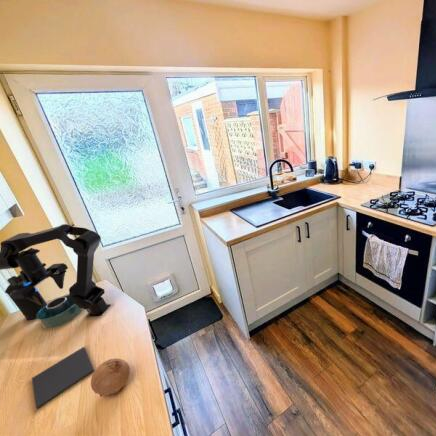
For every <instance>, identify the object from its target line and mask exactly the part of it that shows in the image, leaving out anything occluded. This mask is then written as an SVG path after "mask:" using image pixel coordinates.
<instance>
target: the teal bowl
mask: <svg viewBox="0 0 436 436" xmlns="http://www.w3.org/2000/svg"><path fill="white" fill-rule="evenodd" d="M62 297H66V298H67V300H68V301H69V303H70V304H71V306H72V307H70V308H69V309H67V310H66V311H64V312H62V313H60V314H58V315H55V316H53V317H52V316H51V314H50V313H49V311H48V310H47V309H46V305H45V306H44V307H43V308H41V309H40V310H39V312H38V313H37V315H36V317H37V319H36V320H37V321H38V323H40V325H41V326H42V328H44V329H54V328H58V327H61V326H63V325H65V324H68V323H69V322H71V321H73V320H74V319H76V318H77V317H78V316H79V315H80V314H82V312H83V311H84V309H83V308H79V307H78V306H77V305H76V304H75V303H73V302H72V300H71V299H70V296H69V294H66V295H63V296H62Z"/></svg>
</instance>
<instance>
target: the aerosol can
mask: <svg viewBox="0 0 436 436" xmlns="http://www.w3.org/2000/svg"><path fill="white" fill-rule="evenodd" d="M30 283H31V282H29V283H25V282H23V283H21V284H20V285H18V284H16V285H14V286H12V285H10V284H9V285H7V287H6V289H5V291H4V293H5V294H7V295H8V296H9V298H10V299H11V301H12V302H13V303H14V304H15V306H16V307H17V308H18V310H19V311H20V312H21V314H22V315H23V316H24V318H25V320H26V321H28V322H30V321H34V320H35V321H36V320H38V319H37V317H36V315H37V313H38V312H39V310H40V309H41V308H43V307H44V306H45V305H47V304H48V303H47V302H46V300H45V298H44V297H43V295H42V294H41V293H40V291H39V290H38V288H37V286H36V287H34V288H35V289H36V290H35V291H38V292H39V295H40V297H41V299H42V301H43V305H40V304H38V303H36V302H34V301H32V300H30V299H27V298H24V299H12V298H11V297H10V293H11V292H12V291H14V290H15V289H17V288H18V287H20V286H27V285H29V284H30Z"/></svg>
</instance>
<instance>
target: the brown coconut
mask: <svg viewBox="0 0 436 436" xmlns="http://www.w3.org/2000/svg"><path fill="white" fill-rule="evenodd" d="M130 374H131V367H130V364H129V363H128V362H127V361H126V360H125V359H121V358H117V357H116V358H110V359H107V360H105V361H103V362H102V363H100V364H99V365H98V366H97V367H96V368H95V370H94V372H92V375H91V379H90V387H91V390H92V391H93V392H94V393H95V394H98V395H99V396H100V397H103V396H107V395H109V396H110V395H113V394H117V393H119V392H120V391H121V389H122V388H124V386H125V385H126V383H127V382H128V380H129V377H130Z"/></svg>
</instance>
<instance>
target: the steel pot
mask: <svg viewBox="0 0 436 436" xmlns="http://www.w3.org/2000/svg"><path fill="white" fill-rule="evenodd" d="M70 307H72V306H71V304H70V303H69V301H68V300H67V298H66V297H63V296H60V297H57V298H54V299H53V300H51V301H49V302H48V303H47V305H46V309H47V310H48V311H49V313H50V314H51V316H52V317H53V316H55V315H58V314H60V313H62V312H64V311H66V310H67V309H69V308H70Z"/></svg>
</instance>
